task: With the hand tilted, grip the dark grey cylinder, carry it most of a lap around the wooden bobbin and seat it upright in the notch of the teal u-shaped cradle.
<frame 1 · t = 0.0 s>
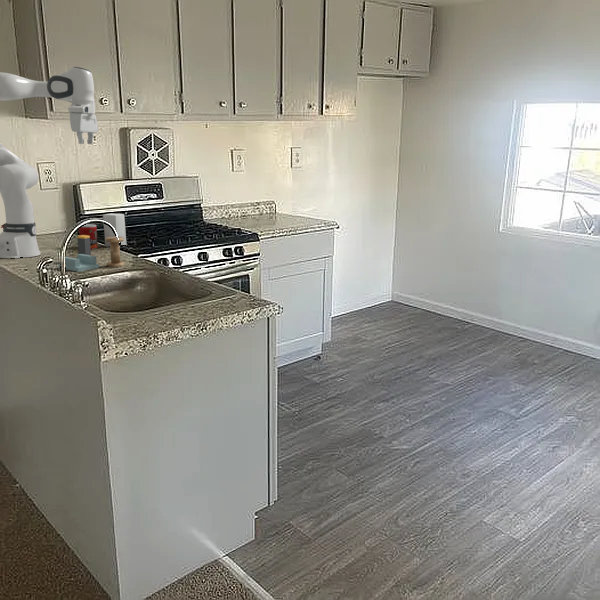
hand: (85, 143, 255), 48 cm above the counter, tool pointing down, fingers open, 8 cm apart
canned food: (89, 248, 291), on the counter
teal u-shaped cradle: (78, 267, 245), on the counter
skincare box: (115, 246, 298), on the counter
dark grey cylinder: (85, 261, 258), on the counter
bobbin: (115, 265, 251), on the counter
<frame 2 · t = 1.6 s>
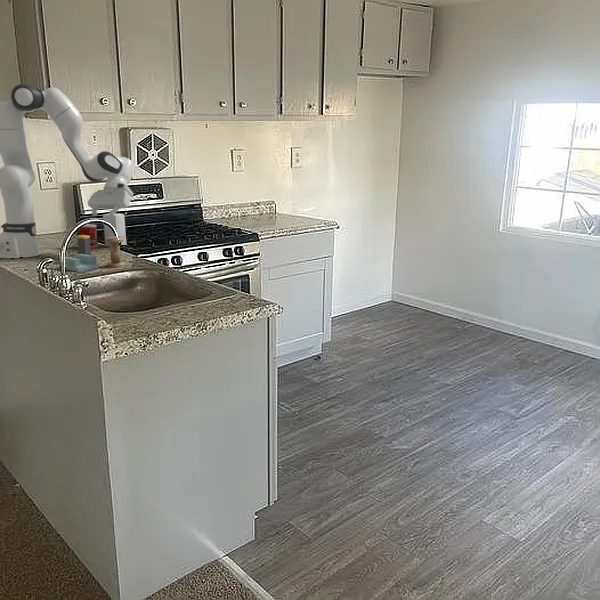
hand: (102, 215, 265), 18 cm above the counter, tool tilted 45°, fingers open, 8 cm apart
nothing on the counter moved.
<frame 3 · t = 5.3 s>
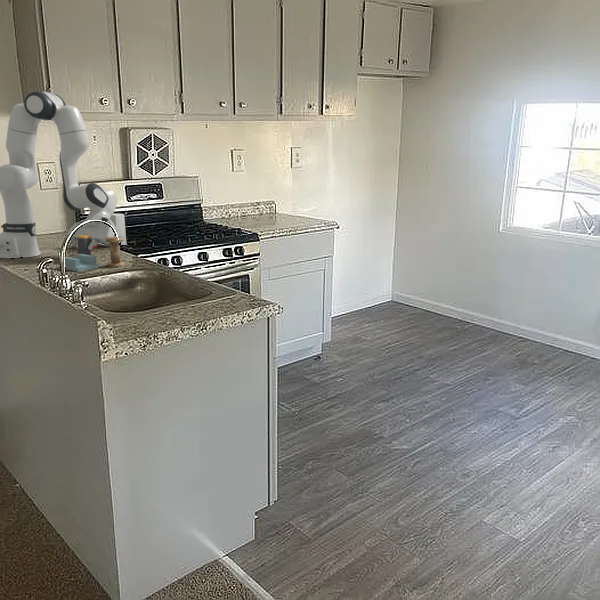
hand: (83, 248, 256), 5 cm above the counter, tool tilted 45°, fingers closed on dark grey cylinder, 3 cm apart
dark grey cylinder: (85, 261, 258), on the counter, touching gripper
everything else where it was.
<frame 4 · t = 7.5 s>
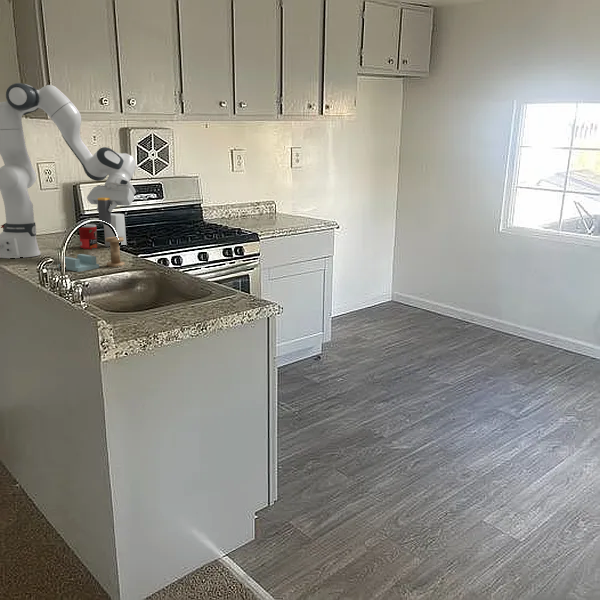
hand: (103, 211, 258), 21 cm above the counter, tool tilted 45°, fingers closed on dark grey cylinder, 3 cm apart
dark grey cylinder: (105, 223, 260), point 15 cm above the counter, touching gripper
everything else where it was.
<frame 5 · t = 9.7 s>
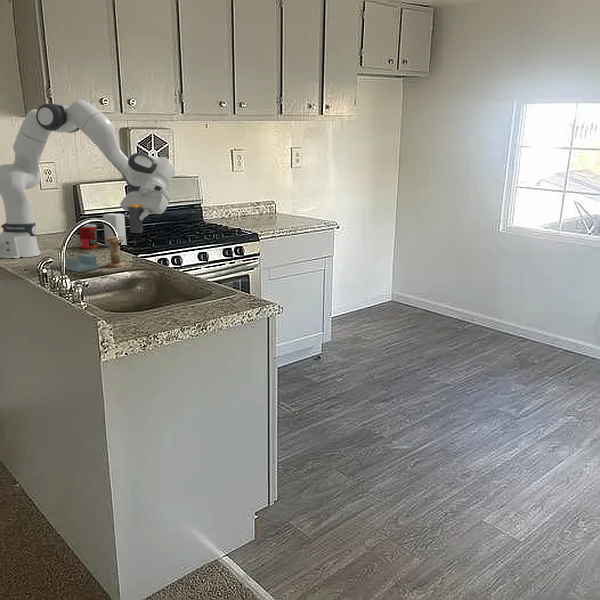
hand: (134, 218, 239), 20 cm above the counter, tool tilted 45°, fingers closed on dark grey cylinder, 3 cm apart
dark grey cylinder: (136, 232, 241), point 15 cm above the counter, touching gripper
everything else where it was.
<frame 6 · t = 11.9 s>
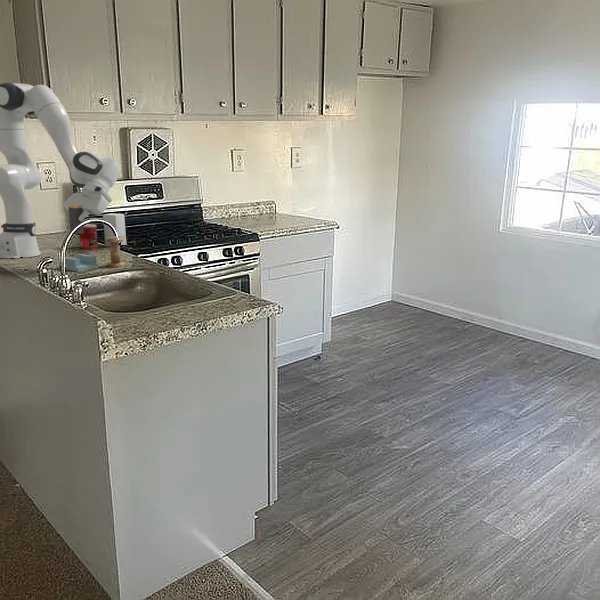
hand: (74, 219, 239), 19 cm above the counter, tool tilted 45°, fingers closed on dark grey cylinder, 3 cm apart
dark grey cylinder: (77, 233, 241), point 14 cm above the counter, touching gripper
everything else where it was.
when the fingers open (8 cm above the counter, at t = 14.0 s): dark grey cylinder drops 2 cm, resting on teal u-shaped cradle.
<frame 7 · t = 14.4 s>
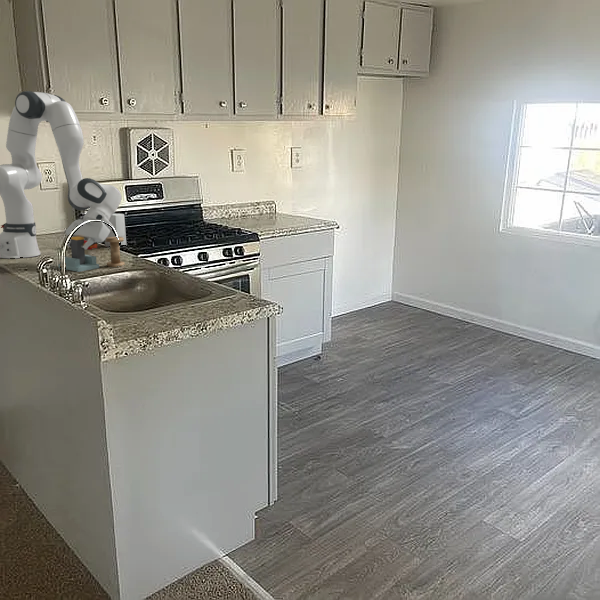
hand: (76, 247, 242), 8 cm above the counter, tool tilted 45°, fingers open, 7 cm apart
dark grey cylinder: (78, 264, 244), point 2 cm above the counter, touching teal u-shaped cradle
everything else where it was.
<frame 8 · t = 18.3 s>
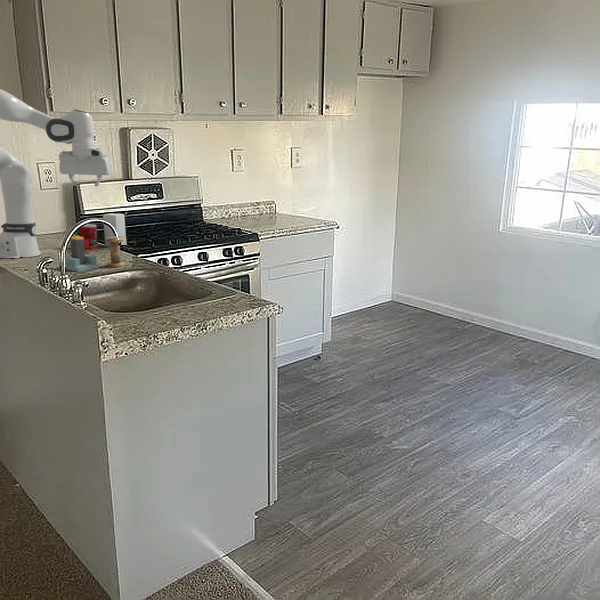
hand: (85, 186, 254), 31 cm above the counter, tool pointing down, fingers open, 8 cm apart
nothing on the counter moved.
at the end: dark grey cylinder inside the target area on the teal u-shaped cradle (0.1 cm from its centre), point 1.5 cm above the teal u-shaped cradle's base; dark grey cylinder tilted 0°; the gripper is holding nothing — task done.
